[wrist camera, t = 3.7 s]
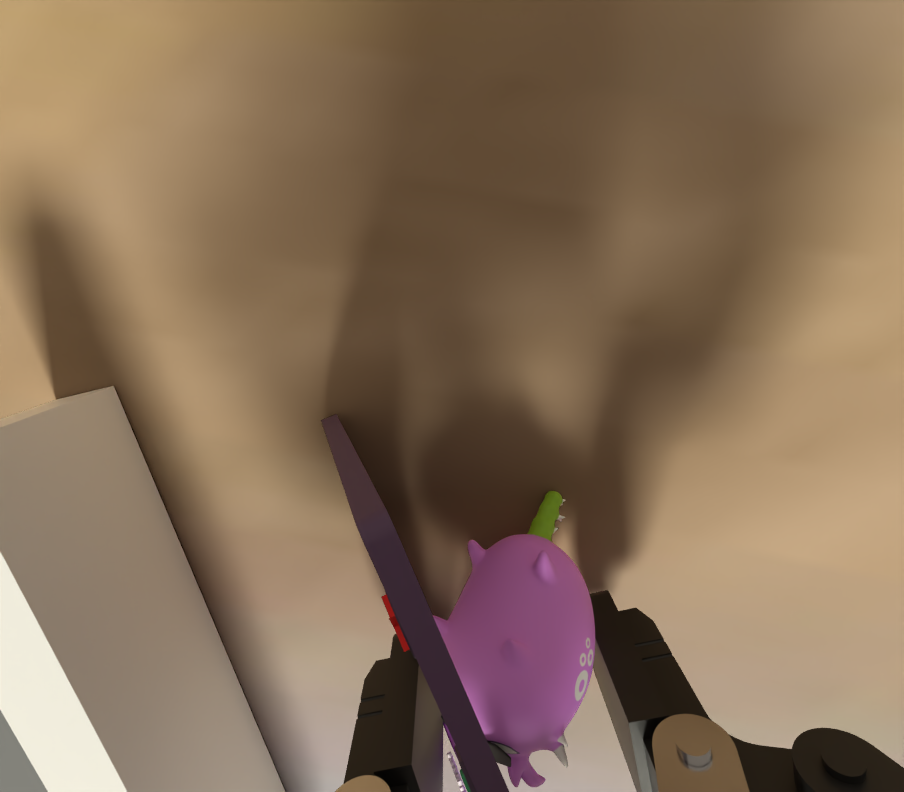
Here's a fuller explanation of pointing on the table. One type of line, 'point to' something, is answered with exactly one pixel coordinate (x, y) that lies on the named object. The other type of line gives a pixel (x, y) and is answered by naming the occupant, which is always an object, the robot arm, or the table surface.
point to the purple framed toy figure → (487, 634)
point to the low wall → (109, 619)
